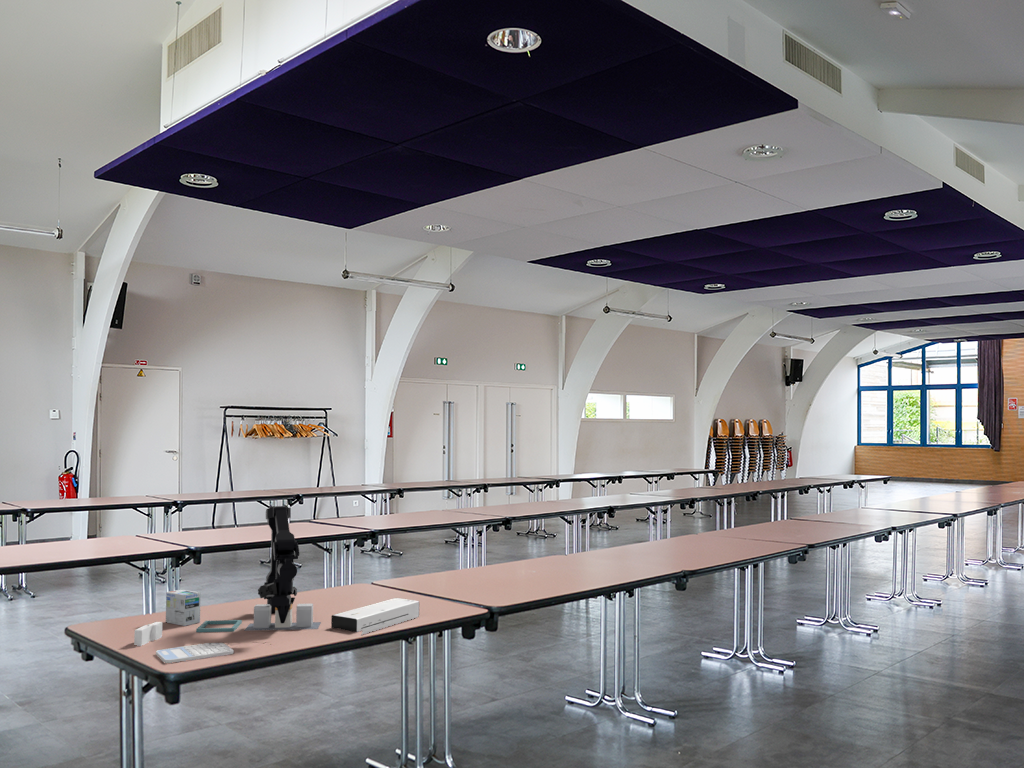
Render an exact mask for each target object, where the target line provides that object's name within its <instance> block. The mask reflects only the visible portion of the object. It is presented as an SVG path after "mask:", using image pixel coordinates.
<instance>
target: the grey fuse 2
mask: <svg viewBox="0 0 1024 768" xmlns="http://www.w3.org/2000/svg"><path fill="white" fill-rule="evenodd" d="M295 613H296V616H295V617H296V618H295V619H296V621H295V623H296V627H312V625H313V622H314V603H297V605H296V612H295Z"/></svg>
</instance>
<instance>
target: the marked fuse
mask: <svg viewBox="0 0 1024 768" xmlns="http://www.w3.org/2000/svg"><path fill="white" fill-rule="evenodd" d="M274 623H275V628H287V627H291V625H292V623H293V605H292V604H291V606H290V609H289V612H288V614H287V617H286V620H285V622H284V623H281V622H280V617H279V613H278V609H277V608H276V607H275V614H274Z"/></svg>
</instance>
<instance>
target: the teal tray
mask: <svg viewBox="0 0 1024 768" xmlns="http://www.w3.org/2000/svg"><path fill="white" fill-rule="evenodd" d="M208 625H233V626H232V627H207V626H208ZM241 625H242V619H231V620H229V619H227V620H226V619H225V620H224V619H223V620H221V619H220V620H219V619H217V620H215V619H214V620H204V622H203V623H202V624H200V625H199V626H198V627H197V628H196V629H195V631H196V633H227V632H228V633H231V632H232V633H233V632H235V631H236V630H237V629H238V628H239V626H241Z"/></svg>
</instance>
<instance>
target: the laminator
mask: <svg viewBox="0 0 1024 768" xmlns="http://www.w3.org/2000/svg"><path fill="white" fill-rule="evenodd" d="M419 616H420V600H415V599H406V598H400V597H394V598H390V599H387V600H383V601H380V602H376V603H372V604H369V605H366V606H360V607H358V608H357V607H356V608H353V609H350V610H346V611H343V612H342V611H341V612H340V613H336V614H332V615H331V623H330V624H331V626H330V627H331V629H337V630H341V631H342V630H343V631H347V632H353V633H358V632H361V631H362V632H361V634H360V636H364V635H366V634H369V632H370V633H373V632H372V631H374V632H376V630H377V631H379V629H380V630H382V628H383V629H386V628H389V627H388V626H390V627H392V625H393V626H395V625H394V624H396V625H398V623H399V624H402V623H405V622H404V621H406V622H408V621H407V620H409V621H412V620H415V619H418V618H419ZM417 617H418V618H417ZM414 618H415V619H414ZM411 619H412V620H411ZM401 622H402V623H401ZM385 627H386V628H385ZM363 634H364V635H363Z"/></svg>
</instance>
